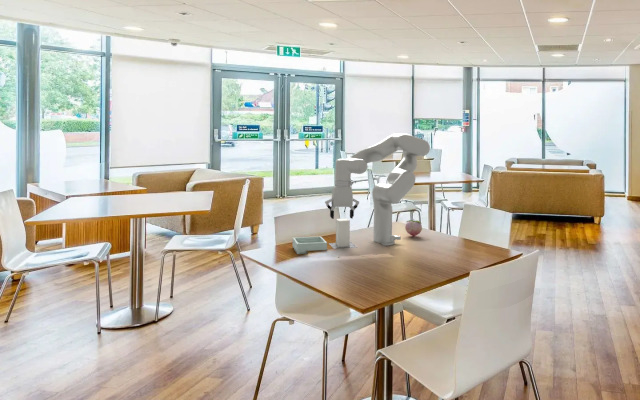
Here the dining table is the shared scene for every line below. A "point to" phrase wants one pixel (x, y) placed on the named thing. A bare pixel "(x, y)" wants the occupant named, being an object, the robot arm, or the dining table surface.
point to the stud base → (343, 247)
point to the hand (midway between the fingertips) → (341, 218)
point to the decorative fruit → (413, 227)
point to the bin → (308, 244)
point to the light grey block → (342, 232)
